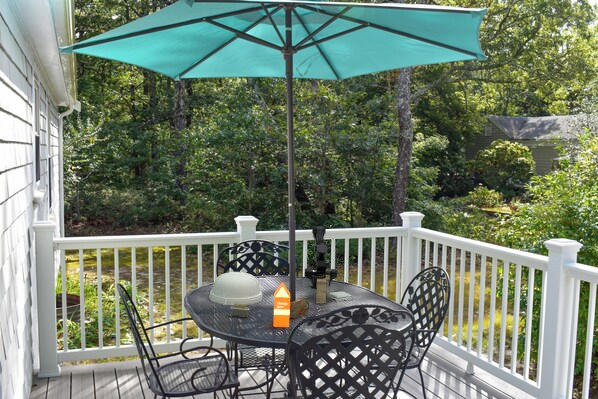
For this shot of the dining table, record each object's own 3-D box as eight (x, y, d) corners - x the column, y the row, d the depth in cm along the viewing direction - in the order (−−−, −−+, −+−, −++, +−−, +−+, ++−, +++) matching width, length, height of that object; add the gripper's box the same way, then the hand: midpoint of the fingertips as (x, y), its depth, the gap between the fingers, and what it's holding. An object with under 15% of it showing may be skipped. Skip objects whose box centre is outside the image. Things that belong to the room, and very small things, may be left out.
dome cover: (249, 308, 300) (250, 283, 299) (198, 302, 309) (199, 276, 308) (270, 294, 330) (271, 270, 329) (224, 288, 339) (224, 265, 338)
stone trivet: (328, 298, 328) (328, 292, 328) (342, 296, 333) (343, 291, 332) (337, 302, 319) (337, 297, 319) (352, 300, 324) (352, 295, 324)
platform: (227, 311, 294) (228, 299, 293) (260, 315, 290) (261, 302, 289) (219, 318, 282) (219, 305, 282) (253, 322, 278) (254, 309, 278)
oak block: (315, 301, 318) (316, 278, 317) (324, 301, 318) (325, 279, 317) (316, 303, 313) (317, 281, 312) (325, 304, 313) (326, 281, 312)
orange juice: (289, 321, 281) (290, 282, 279) (289, 327, 272) (290, 286, 270) (273, 320, 281) (274, 281, 279) (273, 326, 272) (274, 286, 270)
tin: (291, 320, 283) (292, 303, 282) (286, 318, 285) (287, 302, 284) (309, 313, 295) (310, 297, 294) (304, 312, 297) (305, 296, 296)
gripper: (305, 254, 320) (305, 277, 310) (338, 255, 320) (339, 278, 310) (304, 265, 329) (304, 288, 319) (336, 266, 329) (337, 289, 319)
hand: (321, 285), depth 316 cm, fingers open, 9 cm apart
